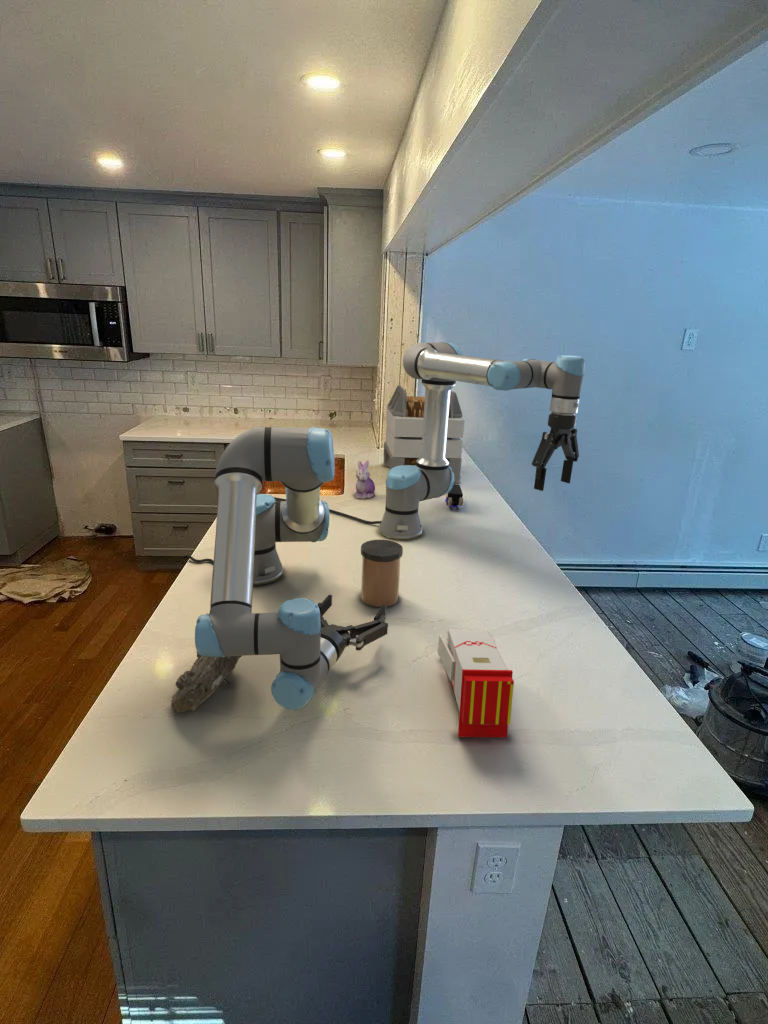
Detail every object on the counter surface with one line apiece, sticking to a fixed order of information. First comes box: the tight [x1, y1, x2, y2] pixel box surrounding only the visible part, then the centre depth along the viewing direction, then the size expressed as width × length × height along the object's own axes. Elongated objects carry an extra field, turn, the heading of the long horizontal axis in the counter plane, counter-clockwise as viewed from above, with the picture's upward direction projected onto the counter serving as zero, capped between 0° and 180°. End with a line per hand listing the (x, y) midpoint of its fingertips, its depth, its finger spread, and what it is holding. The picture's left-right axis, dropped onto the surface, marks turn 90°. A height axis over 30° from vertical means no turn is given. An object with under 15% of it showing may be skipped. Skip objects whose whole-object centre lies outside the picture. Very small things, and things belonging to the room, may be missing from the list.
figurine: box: [354, 460, 376, 500], centre depth 236 cm, size 9×10×15 cm
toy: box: [437, 628, 515, 738], centre depth 117 cm, size 12×13×30 cm
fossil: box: [170, 651, 242, 713], centre depth 116 cm, size 22×10×15 cm
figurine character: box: [444, 483, 464, 511], centre depth 230 cm, size 7×8×15 cm
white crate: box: [383, 384, 465, 484], centre depth 268 cm, size 34×33×41 cm
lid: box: [360, 539, 404, 562], centre depth 150 cm, size 11×11×2 cm
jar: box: [360, 555, 401, 608], centre depth 153 cm, size 10×10×15 cm
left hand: (356, 604), depth 136 cm, fingers open, 13 cm apart
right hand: (552, 485), depth 166 cm, fingers open, 13 cm apart
